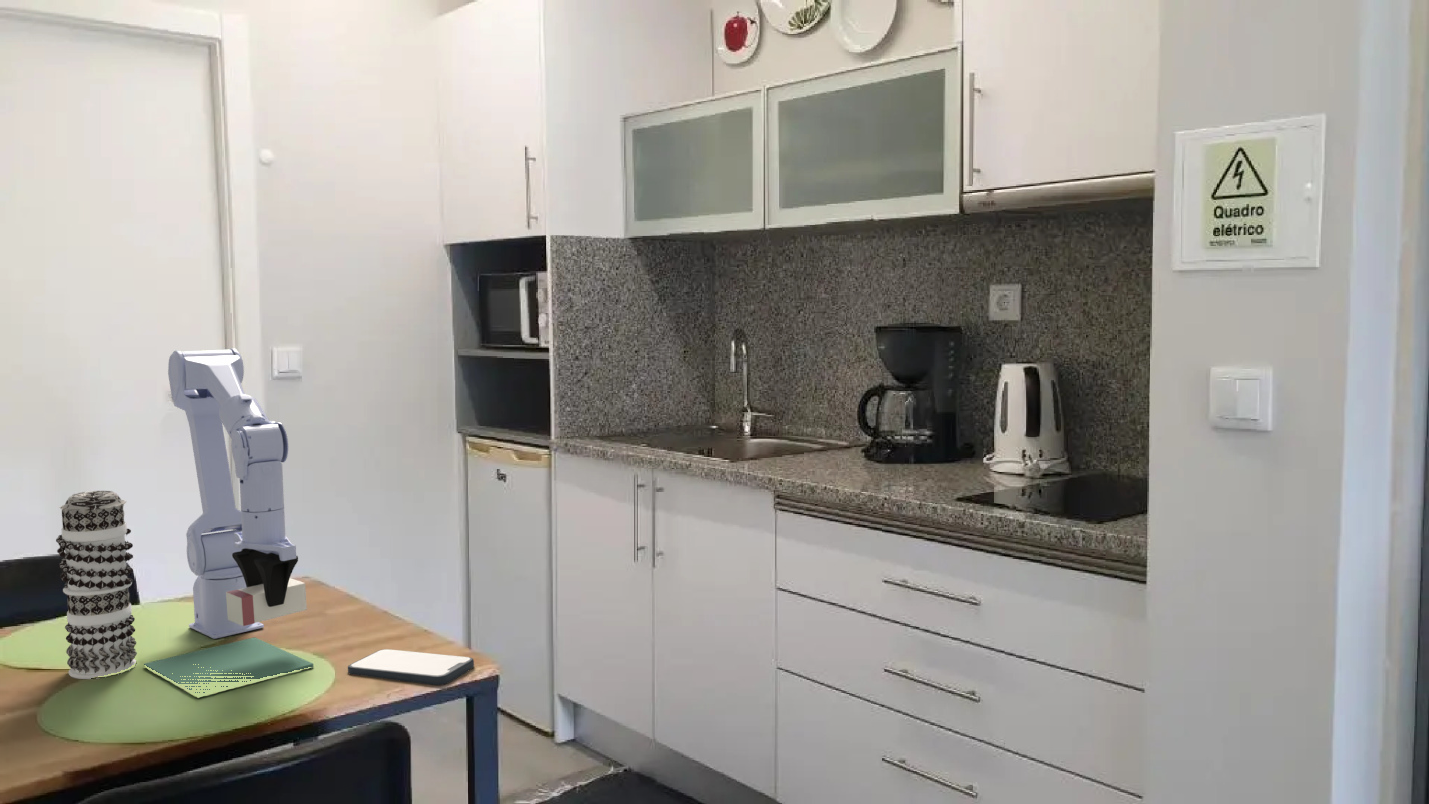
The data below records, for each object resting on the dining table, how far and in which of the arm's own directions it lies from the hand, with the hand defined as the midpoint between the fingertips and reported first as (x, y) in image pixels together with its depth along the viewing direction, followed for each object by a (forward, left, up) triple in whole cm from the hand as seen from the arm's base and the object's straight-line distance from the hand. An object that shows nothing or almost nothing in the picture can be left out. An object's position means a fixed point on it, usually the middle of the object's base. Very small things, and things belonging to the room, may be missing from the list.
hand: (267, 601), depth 160 cm
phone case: (+19, +11, -9) cm, 24 cm away
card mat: (0, -6, -8) cm, 10 cm away
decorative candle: (-13, -18, -9) cm, 24 cm away
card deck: (0, 0, -2) cm, 2 cm away
